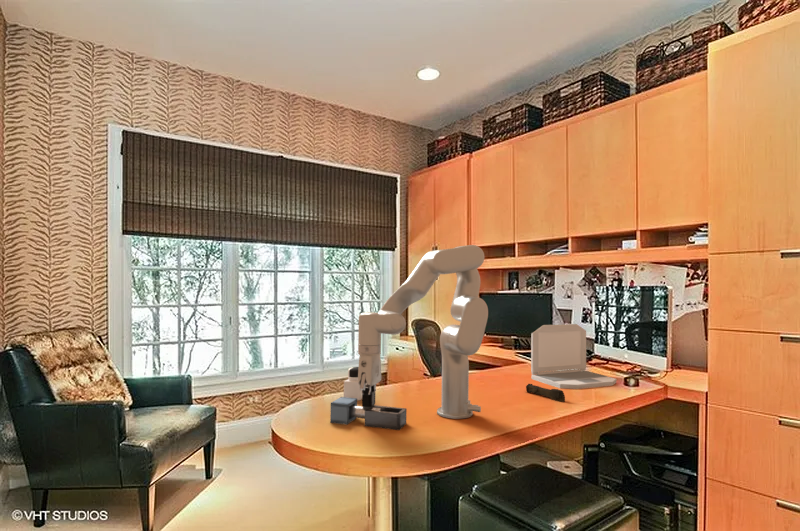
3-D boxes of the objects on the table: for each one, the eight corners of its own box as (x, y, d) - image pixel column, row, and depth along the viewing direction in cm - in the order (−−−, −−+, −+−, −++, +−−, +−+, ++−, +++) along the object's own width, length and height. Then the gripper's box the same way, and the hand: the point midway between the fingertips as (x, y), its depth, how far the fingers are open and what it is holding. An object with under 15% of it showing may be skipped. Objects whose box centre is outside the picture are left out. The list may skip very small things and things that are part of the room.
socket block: (356, 417, 158) (357, 398, 158) (346, 424, 150) (347, 404, 151) (341, 415, 160) (341, 396, 160) (330, 422, 152) (330, 402, 152)
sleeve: (406, 423, 152) (406, 408, 152) (399, 430, 145) (400, 414, 145) (372, 419, 156) (372, 405, 156) (364, 426, 149) (364, 410, 149)
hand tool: (525, 393, 196) (525, 382, 196) (532, 392, 198) (532, 381, 198) (559, 404, 180) (559, 392, 180) (566, 403, 182) (566, 391, 182)
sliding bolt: (381, 418, 153) (382, 391, 153) (377, 421, 149) (378, 393, 150) (343, 414, 157) (343, 387, 158) (338, 417, 154) (339, 390, 154)
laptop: (565, 391, 201) (566, 330, 202) (530, 379, 224) (531, 325, 225) (622, 385, 214) (622, 328, 214) (584, 375, 236) (584, 323, 237)
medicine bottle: (366, 396, 186) (367, 366, 187) (359, 400, 180) (360, 370, 180) (350, 394, 189) (351, 365, 189) (343, 399, 182) (343, 368, 182)
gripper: (371, 354, 144) (370, 413, 144) (388, 346, 160) (387, 400, 159) (349, 352, 147) (348, 410, 146) (368, 345, 162) (367, 398, 161)
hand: (368, 404), depth 153 cm, fingers closed on sliding bolt, 2 cm apart
